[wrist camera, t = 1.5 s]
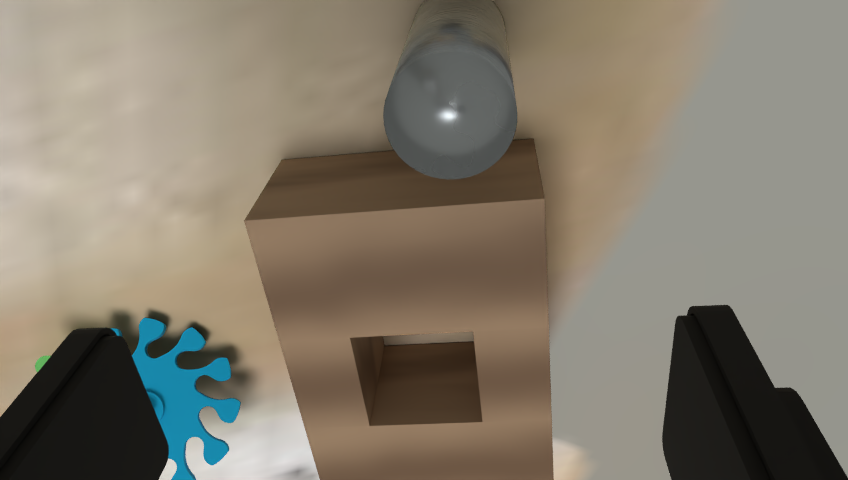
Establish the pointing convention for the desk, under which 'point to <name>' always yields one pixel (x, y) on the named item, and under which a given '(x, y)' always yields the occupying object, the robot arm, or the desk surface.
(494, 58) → the long pin
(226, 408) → the gear
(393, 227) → the hole block
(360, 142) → the desk surface
